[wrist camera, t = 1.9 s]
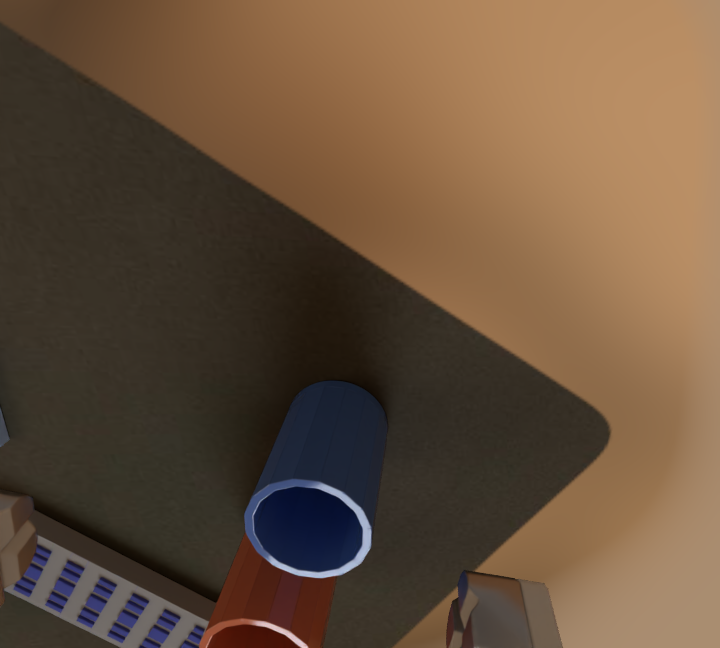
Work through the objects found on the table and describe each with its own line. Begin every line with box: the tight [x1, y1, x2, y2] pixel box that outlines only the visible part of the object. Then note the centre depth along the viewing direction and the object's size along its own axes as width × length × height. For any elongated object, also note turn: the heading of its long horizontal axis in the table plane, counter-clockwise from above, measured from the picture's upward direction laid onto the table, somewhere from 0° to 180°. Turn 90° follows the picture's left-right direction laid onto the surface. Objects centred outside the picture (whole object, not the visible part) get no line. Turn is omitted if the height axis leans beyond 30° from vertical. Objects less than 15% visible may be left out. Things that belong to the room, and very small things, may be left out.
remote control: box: [4, 510, 216, 648], centre depth 48 cm, size 8×23×2 cm, turn 59°
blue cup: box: [244, 380, 388, 578], centre depth 35 cm, size 7×7×10 cm
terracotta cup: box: [199, 531, 337, 648], centre depth 39 cm, size 7×7×10 cm
